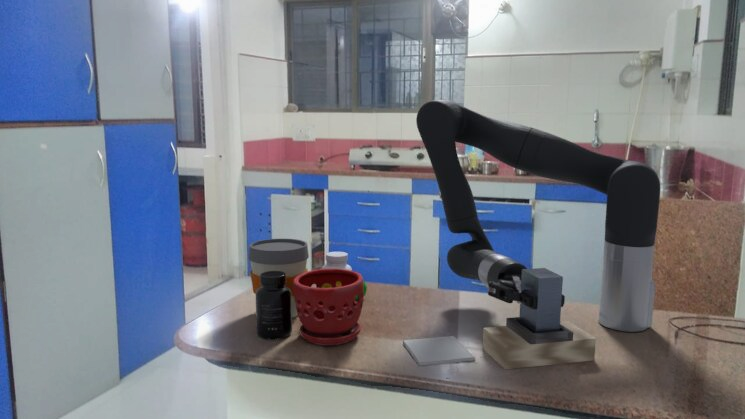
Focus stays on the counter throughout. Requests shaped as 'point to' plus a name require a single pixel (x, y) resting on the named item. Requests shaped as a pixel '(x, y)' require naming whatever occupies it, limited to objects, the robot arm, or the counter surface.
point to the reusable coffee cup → (278, 261)
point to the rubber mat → (438, 350)
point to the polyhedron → (364, 290)
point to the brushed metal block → (542, 300)
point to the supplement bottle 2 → (336, 264)
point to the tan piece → (537, 345)
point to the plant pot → (329, 305)
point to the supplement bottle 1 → (273, 306)
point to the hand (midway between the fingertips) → (548, 302)
